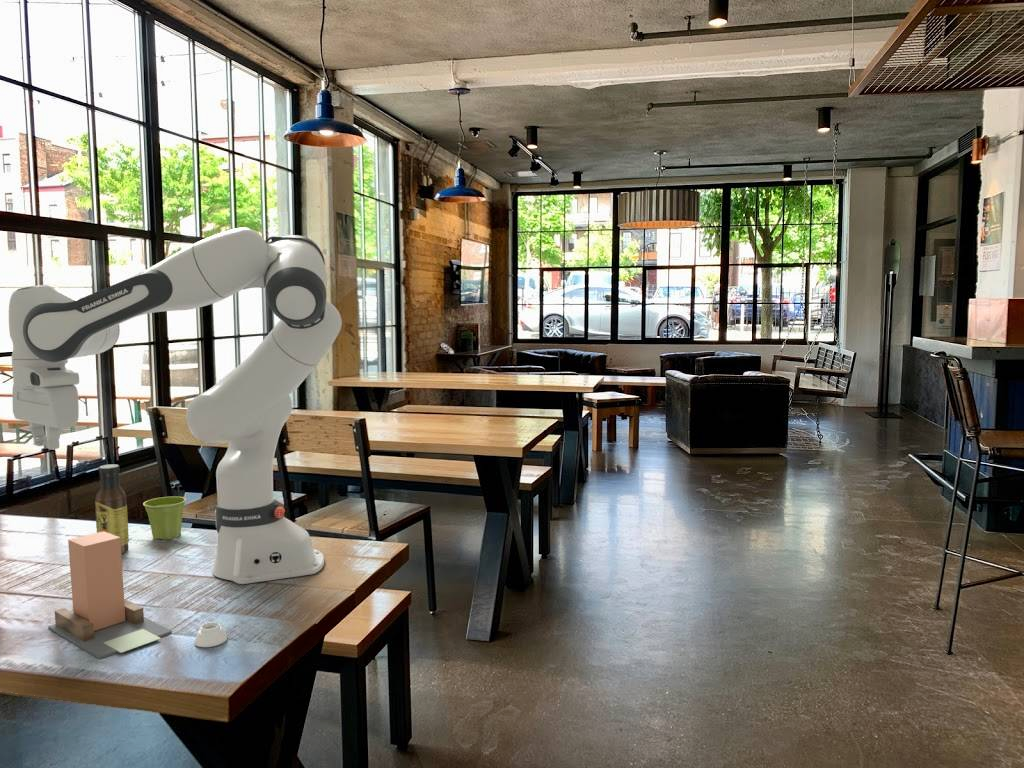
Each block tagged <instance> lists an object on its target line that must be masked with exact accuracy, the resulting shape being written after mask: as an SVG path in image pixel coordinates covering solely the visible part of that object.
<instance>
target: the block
mask: <svg viewBox="0 0 1024 768" xmlns="http://www.w3.org/2000/svg"><path fill="white" fill-rule="evenodd" d="M67 541H68V542H67V543H68V556H69V571H70V583H71V587H70V588H71V597H72V599H71V600H72V613H74V614H76V615H78V616H80V617H82V618H83V619H85V620H87V621H89V622H91V623H92V624H93V627H94V631H96V630H99V629H102V628H105V627H108V626H111V625H114V624H117V623H120V622H123V621H126V619H125V604H124V599H125V592H124V591H125V590H124V588H125V587H124V579H123V578H124V576H123V575H124V574H123V562H122V561H123V560H122V554H121V542H120V537H118V536H115V535H112V534H110V533H107V532H105V531H103V532H99V533H97V532H95V533H91V534H86V535H82V536H78V537H74V538H70V539H68V540H67Z"/></svg>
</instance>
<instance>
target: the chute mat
mask: <svg viewBox="0 0 1024 768" xmlns="http://www.w3.org/2000/svg"><path fill="white" fill-rule="evenodd" d="M47 628H48V630H51V631H52V632H53V633H56V634H58V636H60V637H62V638H64V639H65V640H67V641H69V642H70V643H72V644H74V645H75V646H77V647H78V648H80V649H82V650H84V651H85V652H87V653H88V654H89V655H92V656H94V657H95V658H97V659H99V660H100V659H103V658H106V657H109V656H112V655H115V654H118V653H120V654H123V653H125V652H128V651H130V650H133V649H136V648H139V647H142V646H144V645H147V644H150V643H152V642H156V641H158V640H161V639H162V637H165V636H168V635H171V634H172V633H173V631H172V630H171V629H169V628H167V627H165V626H164V625H161V624H160V623H157V622H155V621H153V620H151V619H149V618H148V617H145V616H144V622H142V623H139V624H136V625H135V624H133V623H131V622H129V621H127V620H126V621H123V622H120V623H117V624H114V625H111V626H108V627H105V628H102V629H99V630H96V631H94V639H91V640H88V641H85V642H84V641H82V640H80V639H79V638H77V637H75V636H74V635H72V634H70V633H69V632H67V631H65V630H64V629H62V628H60V627H58V626H57V625H56V623H53V624H50V625H48V627H47Z"/></svg>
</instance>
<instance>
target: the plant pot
mask: <svg viewBox="0 0 1024 768" xmlns="http://www.w3.org/2000/svg"><path fill="white" fill-rule="evenodd" d="M186 502H187V498H186V497H183V496H163V497H156V498H151V499H148V500H146V501H144V502H143V503H142V506H144V508H145V512H146V513H147V517H148V520H149V524H150V525H149V526H150V529H151V534H152V535H151V536H152V538H153V539H154V540H159V539H160V540H164V541H165V540H171V539H175V538H177V537H179V536H181V533H182V524H183V513H184V511H183V510H184V508H185V503H186Z"/></svg>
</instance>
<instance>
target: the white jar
mask: <svg viewBox="0 0 1024 768" xmlns="http://www.w3.org/2000/svg"><path fill="white" fill-rule="evenodd" d="M227 639H228V634H227V633H226V630H225V629H224V627H222V626H221V624H220V622H217V621H208V622H205V623H203V624H201V625H200V628H199V630H198V631H197V634H196V635H195V638H194V645H195V646H196V647H200V648H213V647H217V646H220V645H222V644H223V643H225V642H226V641H227Z"/></svg>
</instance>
